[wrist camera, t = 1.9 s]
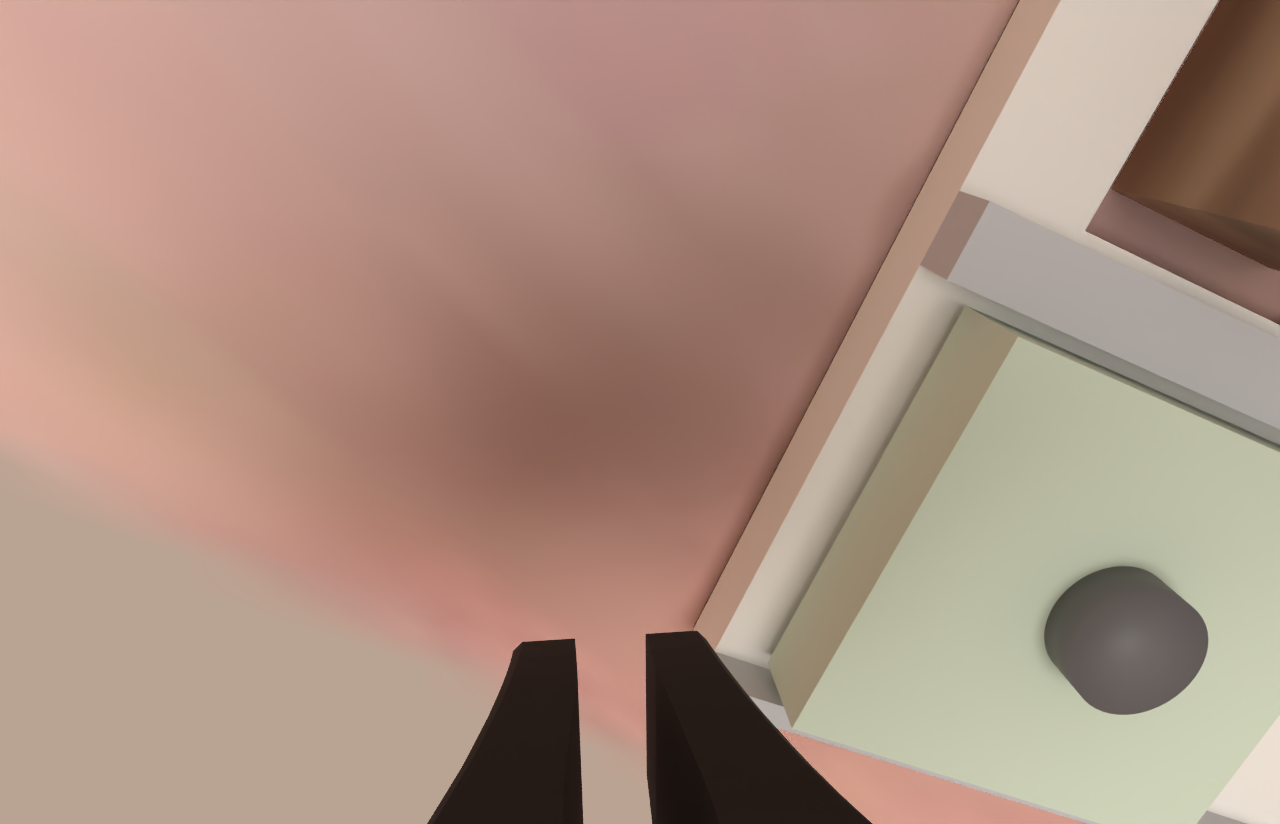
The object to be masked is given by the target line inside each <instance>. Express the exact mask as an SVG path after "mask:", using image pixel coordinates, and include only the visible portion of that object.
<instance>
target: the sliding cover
mask: <svg viewBox="0 0 1280 824" xmlns="http://www.w3.org/2000/svg"><path fill="white" fill-rule="evenodd" d="M768 666H769V668H770V671H771V674H772V676H773V679H774V682H775V684H776V687H777V690H778V692H779V695H780V698H781V700H782V703H783V706H784V709H785V711H786V714H787V717H788V719H789V722H790V725H791V727H792V729H796V730H799V731H802V732H805V733H808V734H812V735H815V736H818V737H821V738H825V739H828V740H831V741H834V742H838V743H841V744H844V745H847V746H851V747H854V748H857V749H860V750H864V751H867V752H870V753H873V754H876V755H880V756H883V757H886V758H889V759H893V760H896V761H899V762H902V763H906V764H909V765H912V766H915V767H919V768H922V769H925V770H928V771H931V772H935V773H938V774H941V775H944V776H948V777H951V778H954V779H957V780H961V781H964V782H967V783H970V784H974V785H977V786H980V787H983V788H987V789H990V790H993V791H996V792H999V793H1003V794H1006V795H1009V796H1012V797H1016V798H1019V799H1022V800H1025V801H1029V802H1032V803H1035V804H1038V805H1042V806H1045V807H1048V808H1051V809H1054V810H1058V811H1061V812H1064V813H1067V814H1071V815H1074V816H1077V817H1080V818H1084V819H1087V820H1090V821H1093V822H1097V823H1100V824H1197V823H1198V821H1199V820H1200V819H1201V817H1202V816H1203V815H1204V813H1205V812H1206V811H1207V810H1208V808H1209V807H1210V806H1211V804H1212V803H1213V802H1214V800H1215V799H1216V798H1217V796H1218V795H1219V794H1220V793H1221V791H1222V790H1223V789H1224V787H1225V786H1226V785H1227V783H1228V782H1229V781H1230V779H1231V778H1232V777H1233V776H1234V774H1235V773H1236V772H1237V770H1238V769H1239V768H1240V766H1241V765H1242V764H1243V762H1244V761H1245V760H1246V758H1247V757H1248V756H1249V755H1250V753H1251V752H1252V751H1253V749H1254V748H1255V747H1256V745H1257V744H1258V743H1259V741H1260V740H1261V739H1262V738H1263V736H1264V735H1265V734H1266V732H1267V731H1268V730H1269V728H1270V727H1271V726H1272V724H1273V723H1274V722H1275V721H1276V719H1277V718H1278V717H1279V715H1280V445H1278V444H1276V443H1274V442H1272V441H1269V440H1267V439H1265V438H1263V437H1261V436H1258V435H1256V434H1254V433H1252V432H1249V431H1247V430H1245V429H1243V428H1240V427H1238V426H1236V425H1234V424H1231V423H1229V422H1227V421H1225V420H1222V419H1220V418H1218V417H1216V416H1213V415H1211V414H1209V413H1207V412H1204V411H1202V410H1200V409H1198V408H1195V407H1193V406H1191V405H1189V404H1186V403H1184V402H1182V401H1180V400H1177V399H1175V398H1173V397H1171V396H1168V395H1166V394H1164V393H1162V392H1159V391H1157V390H1155V389H1153V388H1150V387H1148V386H1146V385H1144V384H1141V383H1139V382H1137V381H1135V380H1132V379H1130V378H1128V377H1126V376H1124V375H1121V374H1119V373H1117V372H1115V371H1112V370H1110V369H1108V368H1106V367H1103V366H1101V365H1099V364H1097V363H1094V362H1092V361H1090V360H1088V359H1085V358H1083V357H1081V356H1079V355H1076V354H1074V353H1072V352H1070V351H1067V350H1065V349H1063V348H1061V347H1058V346H1056V345H1054V344H1052V343H1049V342H1047V341H1045V340H1043V339H1040V338H1038V337H1036V336H1034V335H1031V334H1029V333H1027V332H1025V331H1022V330H1020V329H1018V328H1016V327H1013V326H1011V325H1009V324H1007V323H1004V322H1002V321H1000V320H998V319H995V318H993V317H991V316H989V315H987V314H984V313H982V312H980V311H978V310H975V309H973V308H971V307H969V306H966V305H965V307H964V309H963V311H962V313H961V314H960V316H959V318H958V320H957V322H956V323H955V325H954V327H953V329H952V331H951V332H950V334H949V336H948V338H947V340H946V341H945V343H944V345H943V347H942V349H941V350H940V352H939V354H938V356H937V358H936V359H935V361H934V363H933V365H932V367H931V369H930V370H929V372H928V374H927V376H926V378H925V379H924V381H923V383H922V385H921V387H920V388H919V390H918V392H917V394H916V396H915V397H914V399H913V401H912V403H911V405H910V406H909V408H908V410H907V412H906V414H905V415H904V417H903V419H902V421H901V423H900V424H899V426H898V428H897V430H896V432H895V433H894V435H893V437H892V439H891V441H890V443H889V444H888V446H887V448H886V450H885V452H884V453H883V455H882V457H881V459H880V461H879V462H878V464H877V466H876V468H875V470H874V471H873V473H872V475H871V477H870V479H869V480H868V482H867V484H866V486H865V488H864V489H863V491H862V493H861V495H860V497H859V498H858V500H857V502H856V504H855V506H854V507H853V509H852V511H851V513H850V515H849V517H848V518H847V520H846V522H845V524H844V526H843V527H842V529H841V531H840V533H839V535H838V536H837V538H836V540H835V542H834V544H833V545H832V547H831V549H830V551H829V553H828V554H827V556H826V558H825V560H824V562H823V563H822V565H821V567H820V569H819V571H818V572H817V574H816V576H815V578H814V580H813V581H812V583H811V585H810V587H809V589H808V591H807V592H806V594H805V596H804V598H803V600H802V601H801V603H800V605H799V607H798V609H797V610H796V612H795V614H794V616H793V618H792V619H791V621H790V623H789V625H788V627H787V628H786V630H785V632H784V634H783V636H782V637H781V639H780V641H779V643H778V645H777V646H776V648H775V650H774V652H773V654H772V655H771V657H770V659H769V661H768Z"/></svg>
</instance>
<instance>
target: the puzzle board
mask: <svg viewBox="0 0 1280 824" xmlns="http://www.w3.org/2000/svg"><path fill="white" fill-rule="evenodd" d="M1217 2H1218V0H1020V1H1019V3H1018V5H1017V7H1016V9H1015V11H1014V13H1013V14H1012V16H1011V18H1010V20H1009V22H1008V24H1007V26H1006V28H1005V30H1004V32H1003V34H1002V36H1001V38H1000V39H999V41H998V43H997V45H996V47H995V49H994V51H993V53H992V55H991V57H990V59H989V61H988V63H987V65H986V66H985V68H984V70H983V72H982V74H981V76H980V78H979V80H978V82H977V84H976V86H975V88H974V90H973V91H972V93H971V95H970V97H969V99H968V101H967V103H966V105H965V107H964V109H963V111H962V113H961V115H960V117H959V118H958V120H957V122H956V124H955V126H954V128H953V130H952V132H951V134H950V136H949V138H948V140H947V142H946V143H945V145H944V147H943V149H942V151H941V153H940V155H939V157H938V159H937V161H936V163H935V165H934V167H933V169H932V170H931V172H930V174H929V176H928V178H927V180H926V182H925V184H924V186H923V188H922V190H921V192H920V194H919V195H918V197H917V199H916V201H915V203H914V205H913V207H912V209H911V211H910V213H909V215H908V217H907V219H906V221H905V222H904V224H903V226H902V228H901V230H900V232H899V234H898V236H897V238H896V240H895V242H894V244H893V246H892V247H891V249H890V251H889V253H888V255H887V257H886V259H885V261H884V263H883V265H882V267H881V269H880V271H879V273H878V274H877V276H876V278H875V280H874V282H873V284H872V286H871V288H870V290H869V292H868V294H867V296H866V298H865V299H864V301H863V303H862V305H861V307H860V309H859V311H858V313H857V315H856V317H855V319H854V321H853V323H852V324H851V326H850V328H849V330H848V332H847V334H846V336H845V338H844V340H843V342H842V344H841V346H840V348H839V350H838V351H837V353H836V355H835V357H834V359H833V361H832V363H831V365H830V367H829V369H828V371H827V373H826V375H825V376H824V378H823V380H822V382H821V384H820V386H819V388H818V390H817V392H816V394H815V396H814V398H813V400H812V402H811V403H810V405H809V407H808V409H807V411H806V413H805V415H804V417H803V419H802V421H801V423H800V425H799V427H798V428H797V430H796V432H795V434H794V436H793V438H792V440H791V442H790V444H789V446H788V448H787V450H786V452H785V454H784V455H783V457H782V459H781V461H780V463H779V465H778V467H777V469H776V471H775V473H774V475H773V477H772V479H771V480H770V482H769V484H768V486H767V488H766V490H765V492H764V494H763V496H762V498H761V500H760V502H759V504H758V506H757V507H756V509H755V511H754V513H753V515H752V517H751V519H750V521H749V523H748V525H747V527H746V529H745V531H744V532H743V534H742V536H741V538H740V540H739V542H738V544H737V546H736V548H735V550H734V552H733V554H732V556H731V558H730V559H729V561H728V563H727V565H726V567H725V569H724V571H723V573H722V575H721V577H720V579H719V581H718V583H717V584H716V586H715V588H714V590H713V592H712V594H711V596H710V598H709V600H708V602H707V604H706V606H705V608H704V610H703V611H702V613H701V615H700V617H699V619H698V621H697V623H696V625H695V627H694V629H693V631H698V632H699V633H700V634H701V635H702V636H703V637H704V638H706V640H707V641H708V643H709V644H710V645H711V647H712V648H713V650H714V651H715V652H716V654H717V655H718V657H719V658H720V659H721V661H722V662H723V663H724V665H725V666H726V667H727V669H728V670H729V671H730V673H731V674H732V675H733V677H734V678H735V679H736V680H737V682H738V683H739V684H740V685H741V687H742V688H743V689H744V690H745V692H746V693H747V694H748V695H749V697H750V698H751V699H752V700H753V702H754V703H755V704H756V705H757V706H758V708H759V709H760V710H761V711H762V712H763V713H764V715H765V716H766V717H767V718H768V719H769V720H770V721H771V722H772V724H773V725H774V726H775V727H776V728H778V729H781V730H785V731H788V732H791V733H794V734H798V735H801V736H804V737H807V738H811V739H814V740H817V741H820V742H824V743H827V744H830V745H833V746H837V747H840V748H843V749H846V750H850V751H853V752H856V753H859V754H863V755H866V756H869V757H872V758H876V759H879V760H882V761H885V762H889V763H892V764H895V765H898V766H902V767H905V768H908V769H911V770H915V771H918V772H921V773H924V774H928V775H931V776H934V777H937V778H941V779H944V780H947V781H950V782H954V783H957V784H960V785H963V786H967V787H970V788H973V789H976V790H980V791H983V792H986V793H989V794H993V795H996V796H999V797H1002V798H1006V799H1009V800H1012V801H1015V802H1019V803H1022V804H1025V805H1028V806H1032V807H1035V808H1038V809H1041V810H1045V811H1048V812H1051V813H1054V814H1058V815H1061V816H1064V817H1067V818H1071V819H1074V820H1077V821H1080V822H1084V823H1087V824H1100V823H1097V822H1093V821H1090V820H1087V819H1084V818H1080V817H1077V816H1074V815H1071V814H1067V813H1064V812H1061V811H1058V810H1054V809H1051V808H1048V807H1045V806H1042V805H1038V804H1035V803H1032V802H1029V801H1025V800H1022V799H1019V798H1016V797H1012V796H1009V795H1006V794H1003V793H999V792H996V791H993V790H990V789H987V788H983V787H980V786H977V785H974V784H970V783H967V782H964V781H961V780H957V779H954V778H951V777H948V776H944V775H941V774H938V773H935V772H931V771H928V770H925V769H922V768H919V767H915V766H912V765H909V764H906V763H902V762H899V761H896V760H893V759H889V758H886V757H883V756H880V755H876V754H873V753H870V752H867V751H864V750H860V749H857V748H854V747H851V746H847V745H844V744H841V743H838V742H834V741H831V740H828V739H825V738H821V737H818V736H815V735H812V734H808V733H805V732H802V731H799V730H796V729H792V727H791V725H790V722H789V719H788V717H787V714H786V711H785V709H784V706H783V703H782V700H781V698H780V695H779V692H778V690H777V687H776V684H775V682H774V679H773V676H772V674H771V671H770V668H769V666H768V661H769V659H770V657H771V655H772V654H773V652H774V650H775V648H776V646H777V645H778V643H779V641H780V639H781V637H782V636H783V634H784V632H785V630H786V628H787V627H788V625H789V623H790V621H791V619H792V618H793V616H794V614H795V612H796V610H797V609H798V607H799V605H800V603H801V601H802V600H803V598H804V596H805V594H806V592H807V591H808V589H809V587H810V585H811V583H812V581H813V580H814V578H815V576H816V574H817V572H818V571H819V569H820V567H821V565H822V563H823V562H824V560H825V558H826V556H827V554H828V553H829V551H830V549H831V547H832V545H833V544H834V542H835V540H836V538H837V536H838V535H839V533H840V531H841V529H842V527H843V526H844V524H845V522H846V520H847V518H848V517H849V515H850V513H851V511H852V509H853V507H854V506H855V504H856V502H857V500H858V498H859V497H860V495H861V493H862V491H863V489H864V488H865V486H866V484H867V482H868V480H869V479H870V477H871V475H872V473H873V471H874V470H875V468H876V466H877V464H878V462H879V461H880V459H881V457H882V455H883V453H884V452H885V450H886V448H887V446H888V444H889V443H890V441H891V439H892V437H893V435H894V433H895V432H896V430H897V428H898V426H899V424H900V423H901V421H902V419H903V417H904V415H905V414H906V412H907V410H908V408H909V406H910V405H911V403H912V401H913V399H914V397H915V396H916V394H917V392H918V390H919V388H920V387H921V385H922V383H923V381H924V379H925V378H926V376H927V374H928V372H929V370H930V369H931V367H932V365H933V363H934V361H935V359H936V358H937V356H938V354H939V352H940V350H941V349H942V347H943V345H944V343H945V341H946V340H947V338H948V336H949V334H950V332H951V331H952V329H953V327H954V325H955V323H956V322H957V320H958V318H959V316H960V314H961V313H962V311H963V309H964V307H965V305H966V306H969V307H971V308H973V309H975V310H978V311H980V312H982V313H984V314H987V315H989V316H991V317H993V318H995V319H998V320H1000V321H1002V322H1004V323H1007V324H1009V325H1011V326H1013V327H1016V328H1018V329H1020V330H1022V331H1025V332H1027V333H1029V334H1031V335H1034V336H1036V337H1038V338H1040V339H1043V340H1045V341H1047V342H1049V343H1052V344H1054V345H1056V346H1058V347H1061V348H1063V349H1065V350H1067V351H1070V352H1072V353H1074V354H1076V355H1079V356H1081V357H1083V358H1085V359H1088V360H1090V361H1092V362H1094V363H1097V364H1099V365H1101V366H1103V367H1106V368H1108V369H1110V370H1112V371H1115V372H1117V373H1119V374H1121V375H1124V376H1126V377H1128V378H1130V379H1132V380H1135V381H1137V382H1139V383H1141V384H1144V385H1146V386H1148V387H1150V388H1153V389H1155V390H1157V391H1159V392H1162V393H1164V394H1166V395H1168V396H1171V397H1173V398H1175V399H1177V400H1180V401H1182V402H1184V403H1186V404H1189V405H1191V406H1193V407H1195V408H1198V409H1200V410H1202V411H1204V412H1207V413H1209V414H1211V415H1213V416H1216V417H1218V418H1220V419H1222V420H1225V421H1227V422H1229V423H1231V424H1234V425H1236V426H1238V427H1240V428H1243V429H1245V430H1247V431H1249V432H1252V433H1254V434H1256V435H1258V436H1261V437H1263V438H1265V439H1267V440H1269V441H1272V442H1274V443H1276V444H1278V445H1280V325H1279V324H1276V323H1274V322H1272V321H1270V320H1268V319H1266V318H1264V317H1262V316H1260V315H1258V314H1256V313H1254V312H1252V311H1250V310H1247V309H1245V308H1243V307H1241V306H1239V305H1237V304H1235V303H1233V302H1231V301H1229V300H1227V299H1225V298H1223V297H1221V296H1218V295H1216V294H1214V293H1212V292H1210V291H1208V290H1206V289H1204V288H1202V287H1200V286H1198V285H1196V284H1194V283H1192V282H1189V281H1187V280H1185V279H1183V278H1181V277H1179V276H1177V275H1175V274H1173V273H1171V272H1169V271H1167V270H1165V269H1163V268H1160V267H1158V266H1156V265H1154V264H1152V263H1150V262H1148V261H1146V260H1144V259H1142V258H1140V257H1138V256H1136V255H1134V254H1131V253H1129V252H1127V251H1125V250H1123V249H1121V248H1119V247H1117V246H1115V245H1113V244H1111V243H1109V242H1107V241H1105V240H1103V239H1100V238H1098V237H1096V236H1094V235H1092V234H1090V233H1088V232H1086V231H1085V230H1086V228H1087V226H1088V225H1089V223H1090V221H1091V219H1092V218H1093V216H1094V214H1095V213H1096V211H1097V209H1098V207H1099V206H1100V204H1101V202H1102V201H1103V199H1104V197H1105V195H1106V194H1107V192H1108V190H1109V188H1110V187H1111V185H1112V183H1113V182H1114V180H1115V178H1116V176H1117V175H1118V173H1119V171H1120V169H1121V168H1122V166H1123V164H1124V163H1125V161H1126V159H1127V157H1128V156H1129V154H1130V152H1131V150H1132V149H1133V147H1134V145H1135V144H1136V142H1137V140H1138V138H1139V137H1140V135H1141V133H1142V131H1143V130H1144V128H1145V126H1146V125H1147V123H1148V121H1149V119H1150V118H1151V116H1152V114H1153V113H1154V111H1155V109H1156V107H1157V106H1158V104H1159V102H1160V100H1161V99H1162V97H1163V95H1164V94H1165V92H1166V90H1167V88H1168V87H1169V85H1170V83H1171V81H1172V80H1173V78H1174V76H1175V75H1176V73H1177V71H1178V69H1179V68H1180V66H1181V64H1182V62H1183V61H1184V59H1185V57H1186V56H1187V54H1188V52H1189V50H1190V49H1191V47H1192V45H1193V43H1194V42H1195V40H1196V38H1197V37H1198V35H1199V33H1200V31H1201V30H1202V28H1203V26H1204V25H1205V23H1206V21H1207V19H1208V18H1209V16H1210V14H1211V12H1212V11H1213V9H1214V7H1215V6H1216V4H1217ZM1197 824H1280V715H1279V717H1278V718H1277V719H1276V721H1275V722H1274V723H1273V724H1272V726H1271V727H1270V728H1269V730H1268V731H1267V732H1266V734H1265V735H1264V736H1263V738H1262V739H1261V740H1260V741H1259V743H1258V744H1257V745H1256V747H1255V748H1254V749H1253V751H1252V752H1251V753H1250V755H1249V756H1248V757H1247V758H1246V760H1245V761H1244V762H1243V764H1242V765H1241V766H1240V768H1239V769H1238V770H1237V772H1236V773H1235V774H1234V776H1233V777H1232V778H1231V779H1230V781H1229V782H1228V783H1227V785H1226V786H1225V787H1224V789H1223V790H1222V791H1221V793H1220V794H1219V795H1218V796H1217V798H1216V799H1215V800H1214V802H1213V803H1212V804H1211V806H1210V807H1209V808H1208V810H1207V811H1206V812H1205V813H1204V815H1203V816H1202V817H1201V819H1200V820H1199V821H1198V823H1197Z"/></svg>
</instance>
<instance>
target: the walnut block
mask: <svg viewBox="0 0 1280 824" xmlns="http://www.w3.org/2000/svg"><path fill="white" fill-rule="evenodd" d="M1112 189H1113V190H1115V191H1117V192H1119V193H1121V194H1123V195H1125V196H1127V197H1129V198H1131V199H1133V200H1135V201H1137V202H1139V203H1141V204H1143V205H1145V206H1147V207H1149V208H1151V209H1153V210H1155V211H1157V212H1159V213H1161V214H1163V215H1165V216H1167V217H1169V218H1171V219H1173V220H1175V221H1177V222H1179V223H1181V224H1183V225H1185V226H1187V227H1189V228H1191V229H1193V230H1195V231H1197V232H1199V233H1201V234H1203V235H1205V236H1207V237H1209V238H1211V239H1213V240H1215V241H1217V242H1219V243H1221V244H1223V245H1225V246H1227V247H1229V248H1231V249H1233V250H1235V251H1237V252H1239V253H1241V254H1243V255H1245V256H1247V257H1249V258H1251V259H1253V260H1255V261H1257V262H1259V263H1261V264H1263V265H1265V266H1267V267H1269V268H1272V269H1275V270H1278V271H1280V0H1221V1H1220V3H1219V5H1218V7H1217V8H1216V10H1215V12H1214V13H1213V15H1212V17H1211V19H1210V20H1209V22H1208V24H1207V25H1206V27H1205V29H1204V31H1203V32H1202V34H1201V36H1200V38H1199V39H1198V41H1197V43H1196V44H1195V46H1194V48H1193V50H1192V51H1191V53H1190V55H1189V56H1188V58H1187V60H1186V62H1185V63H1184V65H1183V67H1182V69H1181V70H1180V72H1179V74H1178V75H1177V77H1176V79H1175V81H1174V82H1173V84H1172V86H1171V87H1170V89H1169V91H1168V93H1167V94H1166V96H1165V98H1164V100H1163V101H1162V103H1161V105H1160V106H1159V108H1158V110H1157V112H1156V113H1155V115H1154V117H1153V118H1152V120H1151V122H1150V124H1149V125H1148V127H1147V129H1146V131H1145V132H1144V134H1143V136H1142V137H1141V139H1140V141H1139V143H1138V144H1137V146H1136V148H1135V149H1134V151H1133V153H1132V155H1131V156H1130V158H1129V160H1128V162H1127V163H1126V165H1125V167H1124V168H1123V170H1122V172H1121V174H1120V175H1119V177H1118V179H1117V181H1116V182H1115V184H1114V186H1113V187H1112Z"/></svg>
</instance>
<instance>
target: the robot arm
mask: <svg viewBox="0 0 1280 824" xmlns="http://www.w3.org/2000/svg"><path fill="white" fill-rule="evenodd" d="M646 730H647V780H648V789H649V797H650V806H651V815H652V824H872V823H871V822H870V821H869V820H868V819H866V818H865V817H864V816H863V815H862V814H861V813H860V812H859V811H858V810H856V809H855V808H854V807H853V806H852V805H851V804H850V803H849V802H848V801H847V800H846V799H845V798H844V797H842V796H841V795H840V794H839V793H838V792H837V791H836V790H835V789H834V788H833V787H832V786H831V785H830V784H829V783H828V782H827V781H826V780H825V779H824V778H823V777H822V776H821V775H820V774H819V773H818V772H817V771H816V770H815V769H814V768H813V767H812V766H811V765H810V764H809V763H808V762H807V761H806V760H805V759H804V758H803V757H802V756H801V754H800V753H799V752H798V751H797V750H796V749H795V748H794V747H793V746H792V745H791V744H790V743H789V741H788V740H787V739H786V738H785V737H784V736H783V735H782V734H781V733H780V731H779V730H778V729H777V728H776V727H775V726H774V725H773V724H772V722H771V721H770V720H769V719H768V718H767V717H766V716H765V715H764V713H763V712H762V711H761V710H760V709H759V708H758V706H757V705H756V704H755V703H754V702H753V700H752V699H751V698H750V697H749V695H748V694H747V693H746V692H745V690H744V689H743V688H742V687H741V685H740V684H739V683H738V682H737V680H736V679H735V678H734V677H733V675H732V674H731V673H730V671H729V670H728V669H727V667H726V666H725V665H724V663H723V662H722V661H721V659H720V658H719V657H718V655H717V654H716V652H715V651H714V650H713V648H712V647H711V645H710V644H709V643H708V641H707V640H706V638H704V637H703V636H702V635H701V634H700V633H699V632H698V631H686V632H671V633H655V634H646ZM582 807H583V806H582V781H581V755H580V730H579V704H578V679H577V662H576V648H575V639H562V640H547V641H531V642H522V643H521V644H520V645H519V646H518V647H517V648H516V649H515V650H514V651H513V654H512V658H511V662H510V665H509V668H508V671H507V674H506V677H505V679H504V682H503V685H502V687H501V689H500V692H499V694H498V696H497V699H496V701H495V703H494V705H493V707H492V710H491V712H490V714H489V716H488V718H487V720H486V722H485V724H484V726H483V728H482V730H481V732H480V734H479V736H478V738H477V740H476V741H475V743H474V746H473V747H472V749H471V751H470V753H469V755H468V757H467V759H466V761H465V762H464V764H463V766H462V768H461V770H460V771H459V773H458V775H457V776H456V778H455V779H454V781H453V783H452V784H451V786H450V788H449V789H448V791H447V793H446V794H445V796H444V798H443V799H442V801H441V802H440V804H439V806H438V807H437V809H436V810H435V812H434V814H433V815H432V817H431V819H430V820H429V822H428V823H427V824H583V808H582Z"/></svg>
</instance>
